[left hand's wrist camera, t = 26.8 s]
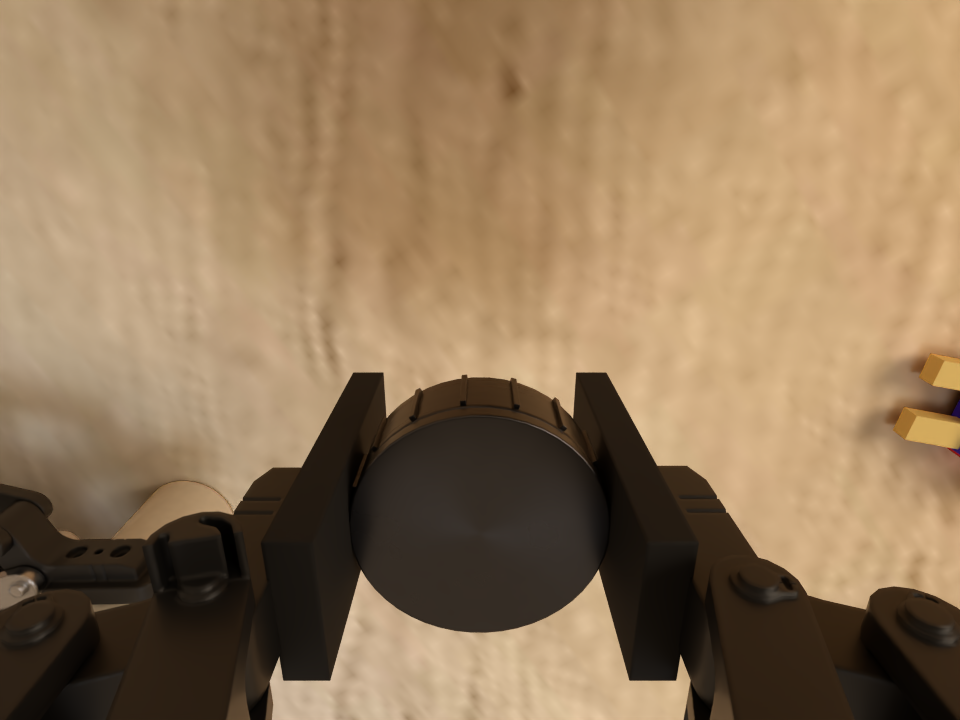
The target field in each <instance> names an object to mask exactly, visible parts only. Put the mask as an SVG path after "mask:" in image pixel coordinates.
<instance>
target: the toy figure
mask: <svg viewBox="0 0 960 720" xmlns="http://www.w3.org/2000/svg"><path fill="white" fill-rule="evenodd" d="M919 378H921V379H922V380H924V381H926V382H927V383H929V384H931V385H933V386H938V387H943V388H949V389H954V390H960V359H958V358H952V357H947V356H941V355H936V354H930V355H929V357H928V360H927V362H926V364H925V366H924V368H923V370H922V372H921V374H920V376H919ZM893 431H895V432H896V433H897V434H898V435H900V436H901V437H902V438H904V439H905V440H910V441H915V442H921V443H926V444H932V445H937V446H942V447H947V448H948V449H949V450H951V451H952V452H953V453H955V454H956V455H958V456H959V457H960V400H959V402H958V403H957V405H956V407H955V409H954V411H953V413H952V415H951V416H950V415H945V414H939V413H934V412H928V411H923V410H918V409H912V408H907V407H904V408H903V410H902V412H901V415H900V417H899V419H898V421H897V423H896V425H895V427H894V429H893Z"/></svg>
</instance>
